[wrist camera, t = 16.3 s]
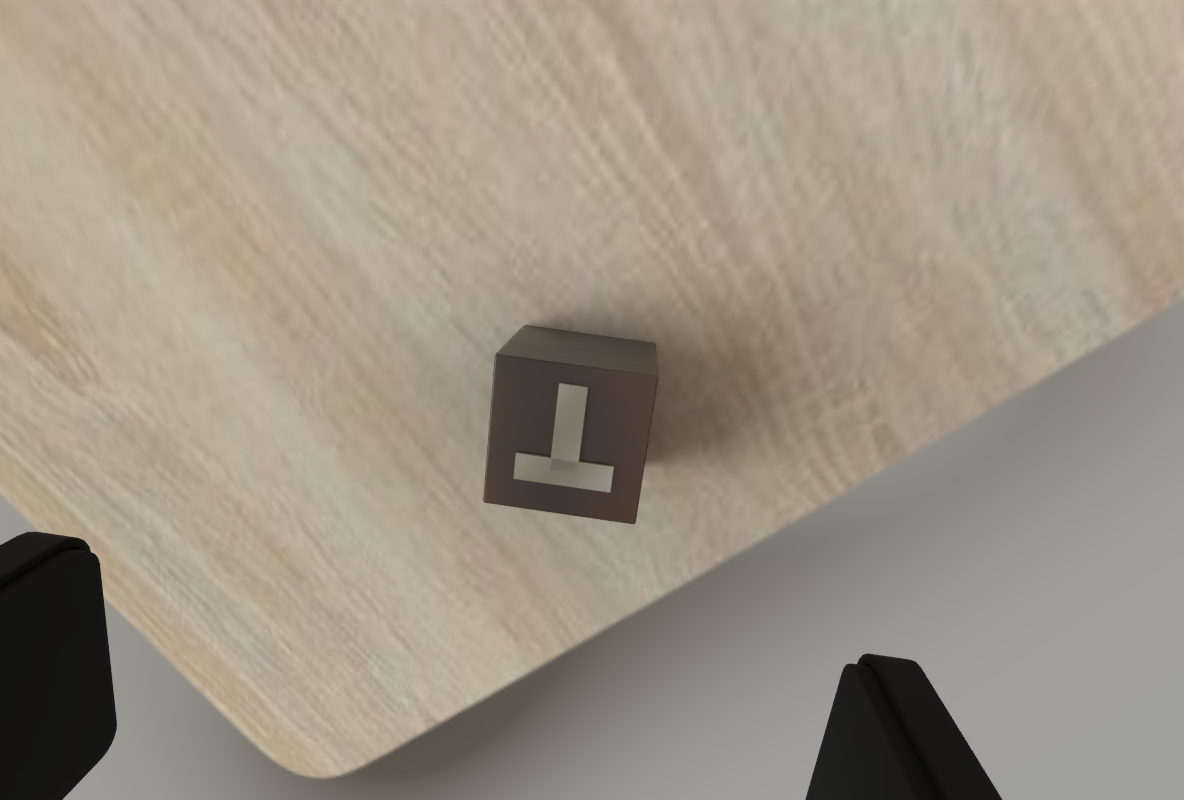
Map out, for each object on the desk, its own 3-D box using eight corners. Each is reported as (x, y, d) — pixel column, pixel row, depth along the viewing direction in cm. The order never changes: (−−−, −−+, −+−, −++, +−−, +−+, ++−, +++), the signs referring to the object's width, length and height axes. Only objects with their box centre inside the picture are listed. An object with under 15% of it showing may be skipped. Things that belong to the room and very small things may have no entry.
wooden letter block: (655, 342, 22) (658, 377, 18) (636, 466, 23) (635, 526, 19) (523, 325, 22) (493, 355, 18) (512, 448, 24) (482, 504, 19)
